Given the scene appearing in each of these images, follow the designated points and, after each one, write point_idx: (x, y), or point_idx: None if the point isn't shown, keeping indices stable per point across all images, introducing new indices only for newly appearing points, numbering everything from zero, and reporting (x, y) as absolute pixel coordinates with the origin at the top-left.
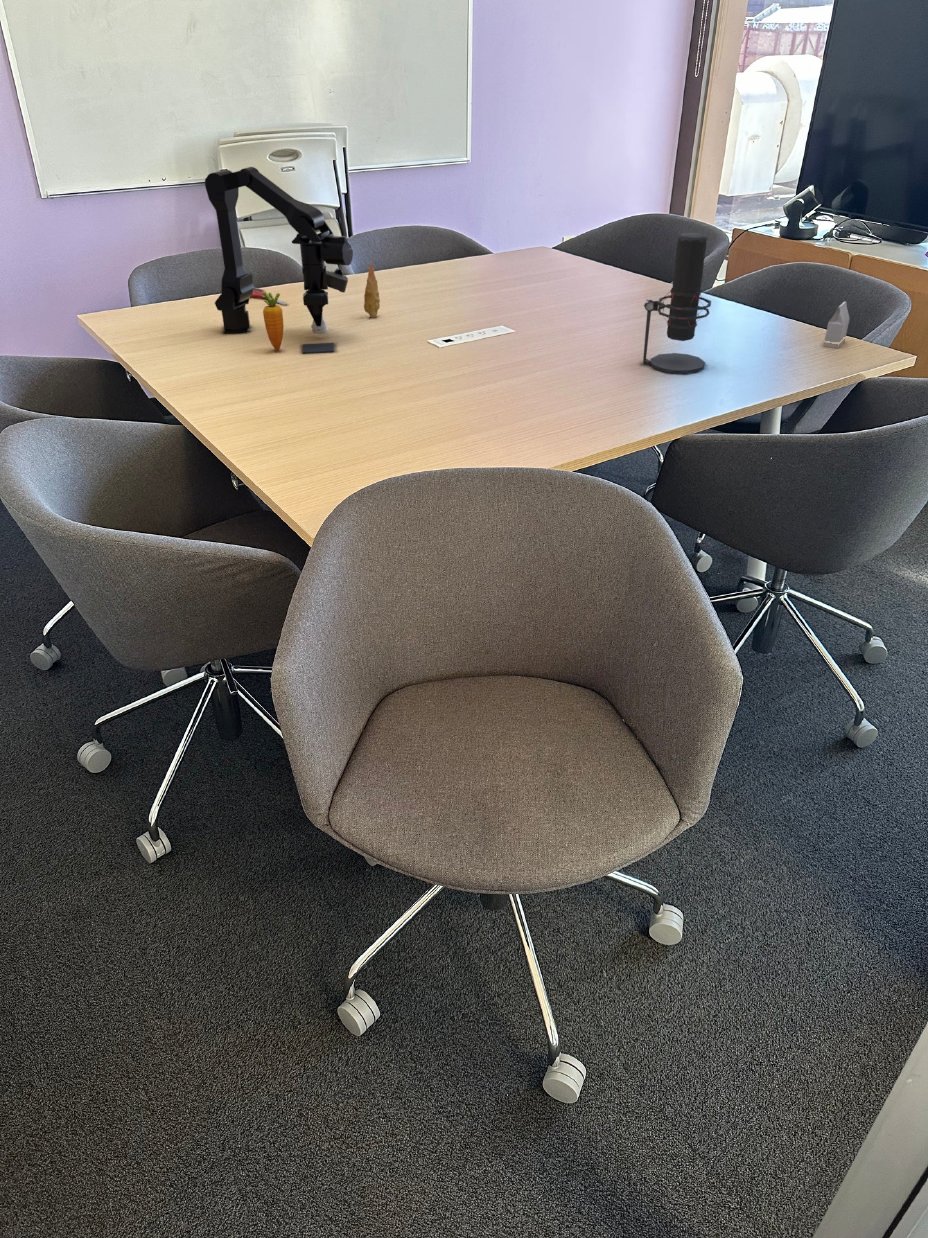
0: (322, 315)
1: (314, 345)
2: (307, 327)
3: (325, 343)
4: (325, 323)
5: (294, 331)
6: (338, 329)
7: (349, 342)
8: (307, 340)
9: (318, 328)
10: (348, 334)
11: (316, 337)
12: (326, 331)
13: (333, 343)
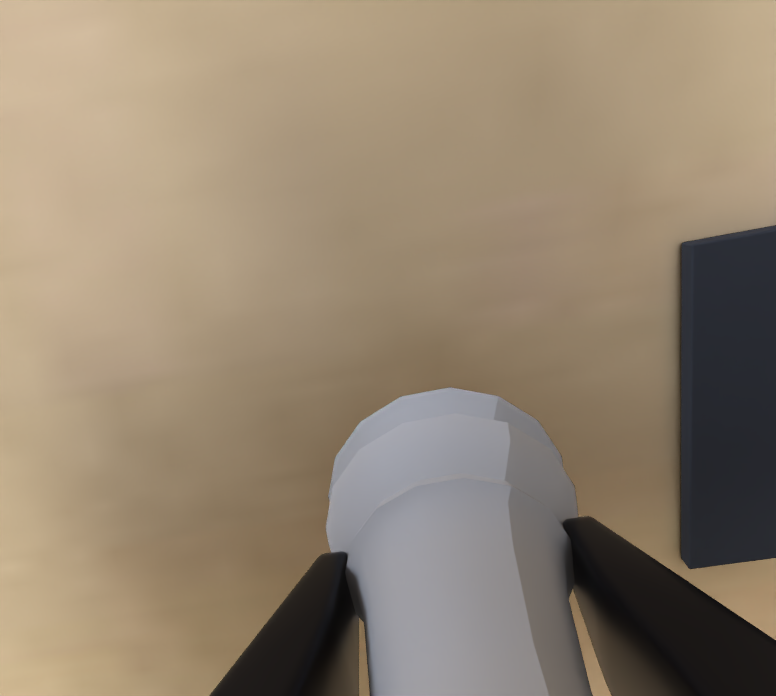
0: (502, 622)
1: (768, 453)
2: (53, 613)
3: (709, 343)
4: (434, 465)
5: (205, 690)
6: (41, 291)
7: (632, 17)
8: None
9: None
10: (238, 108)
11: None
12: (493, 396)
13: (731, 239)
